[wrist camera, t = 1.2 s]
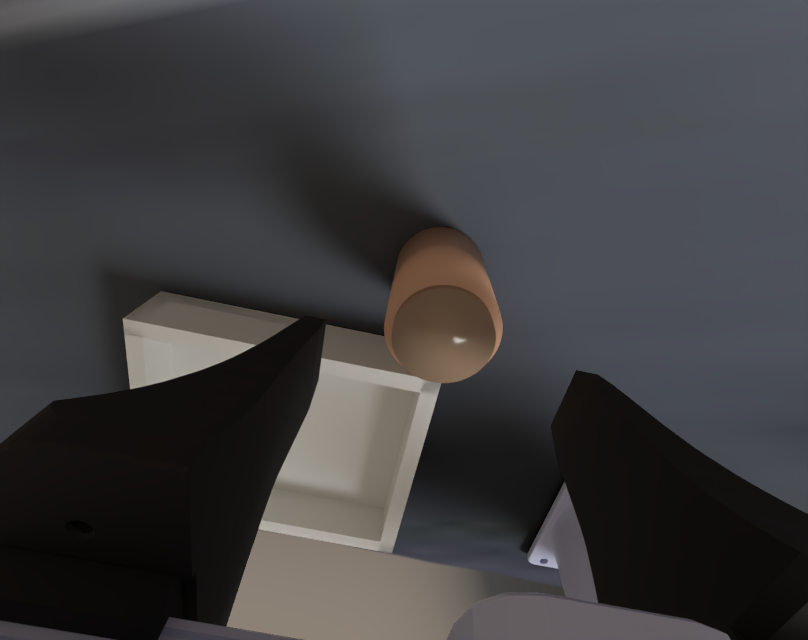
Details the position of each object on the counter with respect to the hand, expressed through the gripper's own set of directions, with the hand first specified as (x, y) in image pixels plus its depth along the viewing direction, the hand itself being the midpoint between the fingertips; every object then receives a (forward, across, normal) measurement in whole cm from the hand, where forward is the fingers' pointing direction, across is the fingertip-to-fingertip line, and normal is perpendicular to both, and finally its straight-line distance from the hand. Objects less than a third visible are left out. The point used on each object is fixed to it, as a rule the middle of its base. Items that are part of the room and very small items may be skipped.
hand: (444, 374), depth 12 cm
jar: (+9, 0, 0) cm, 9 cm away
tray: (+9, +6, +10) cm, 15 cm away
